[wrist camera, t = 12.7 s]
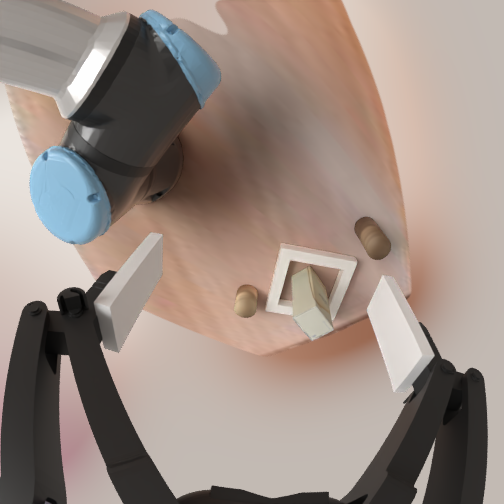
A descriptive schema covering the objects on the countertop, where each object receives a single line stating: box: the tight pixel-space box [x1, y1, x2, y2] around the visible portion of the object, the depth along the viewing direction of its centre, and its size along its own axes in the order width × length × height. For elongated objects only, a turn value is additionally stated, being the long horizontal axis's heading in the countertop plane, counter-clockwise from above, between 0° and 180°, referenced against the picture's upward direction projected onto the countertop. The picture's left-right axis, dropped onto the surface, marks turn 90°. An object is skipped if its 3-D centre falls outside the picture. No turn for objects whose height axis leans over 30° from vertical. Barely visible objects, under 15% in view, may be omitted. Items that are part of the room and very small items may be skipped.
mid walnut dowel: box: [355, 217, 391, 260], centre depth 44 cm, size 4×4×8 cm
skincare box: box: [291, 266, 334, 340], centre depth 49 cm, size 6×4×12 cm
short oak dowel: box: [234, 285, 258, 318], centre depth 54 cm, size 4×4×5 cm
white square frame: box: [265, 243, 357, 321], centre depth 53 cm, size 14×14×2 cm
